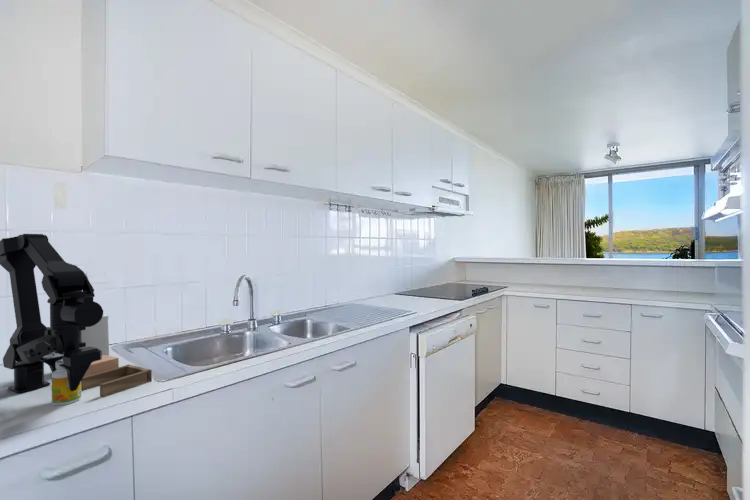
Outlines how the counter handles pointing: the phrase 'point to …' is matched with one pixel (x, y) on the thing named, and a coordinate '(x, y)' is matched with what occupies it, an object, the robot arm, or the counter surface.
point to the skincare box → (97, 336)
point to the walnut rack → (117, 379)
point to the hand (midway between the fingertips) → (67, 388)
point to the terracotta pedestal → (102, 365)
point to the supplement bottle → (63, 387)
